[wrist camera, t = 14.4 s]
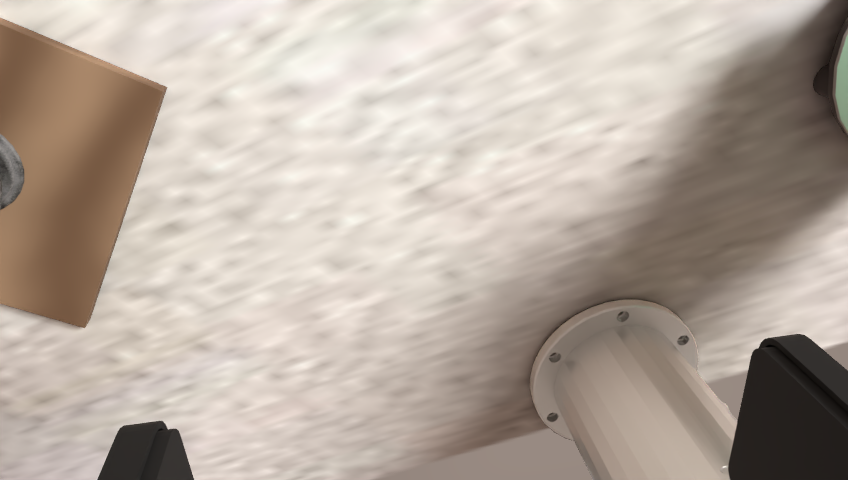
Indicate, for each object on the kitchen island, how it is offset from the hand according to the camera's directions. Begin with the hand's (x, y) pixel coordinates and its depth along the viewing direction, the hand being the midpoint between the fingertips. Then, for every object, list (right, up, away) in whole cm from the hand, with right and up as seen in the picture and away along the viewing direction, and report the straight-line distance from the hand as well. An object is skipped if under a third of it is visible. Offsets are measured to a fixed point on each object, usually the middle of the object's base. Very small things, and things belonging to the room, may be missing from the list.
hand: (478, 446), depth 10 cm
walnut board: (-25, +8, +24) cm, 36 cm away
